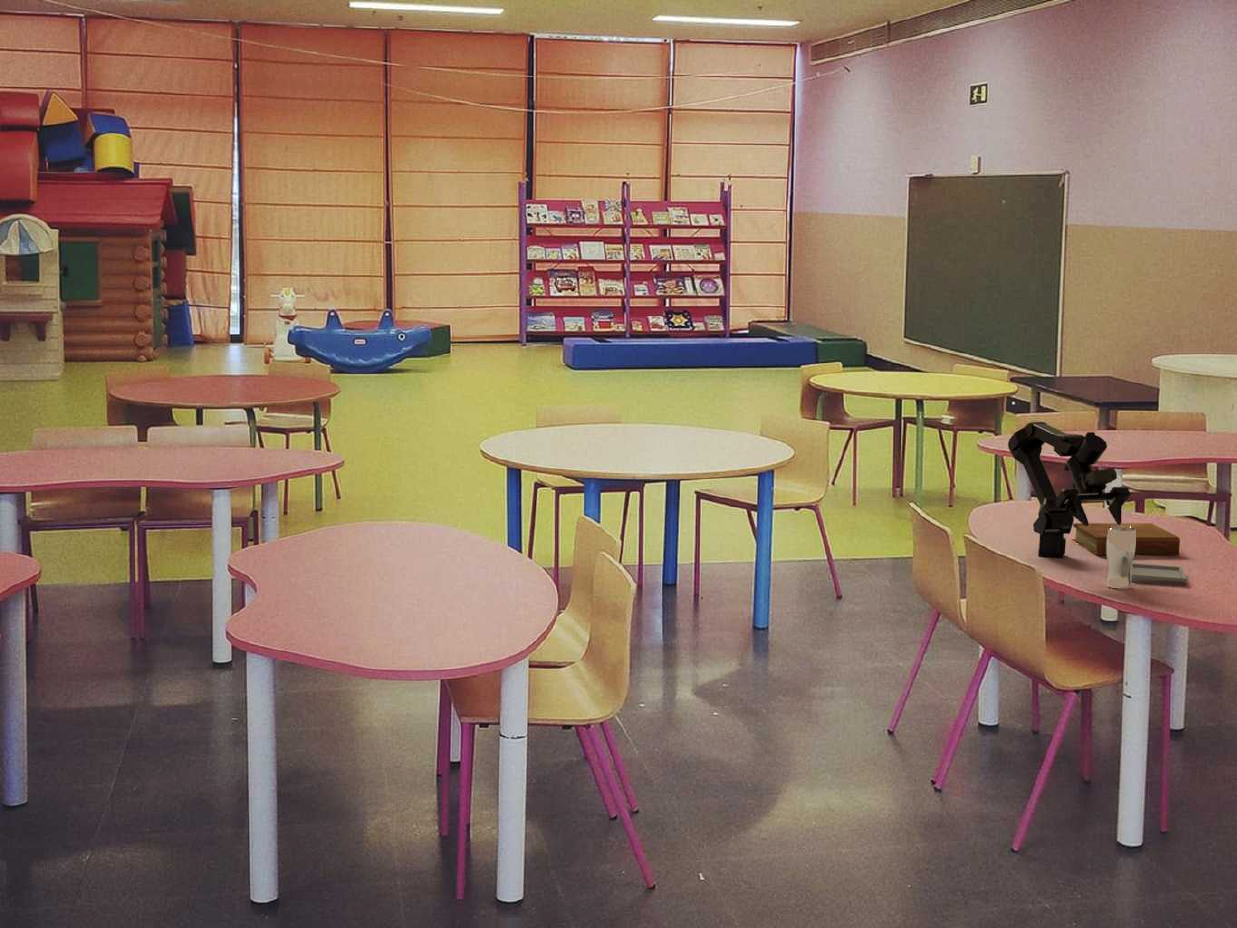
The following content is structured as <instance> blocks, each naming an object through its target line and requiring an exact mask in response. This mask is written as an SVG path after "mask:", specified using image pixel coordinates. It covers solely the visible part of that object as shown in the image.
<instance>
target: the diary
mask: <svg viewBox="0 0 1237 928" xmlns="http://www.w3.org/2000/svg"><path fill="white" fill-rule="evenodd" d="M1088 523H1089V522H1088ZM1109 526H1128V527H1133V528H1135V529H1136V548H1135V554H1134V555H1139V556H1138V557H1144V556H1145V557H1146V556H1147V557H1150V556H1151V557H1161V556H1162V557H1165V556H1166V557H1168V556H1169V557H1172V555H1178V556H1179V555H1180V545H1181V539H1180V537H1179V536H1178V535H1175V534H1173V533H1172V532H1170V531H1167V530H1166V529H1164V528H1162V527H1160V526H1158V525H1156V524H1154V523H1153V522H1148V523H1145V522H1143V523H1142V522H1139V523H1138V522H1135V523H1133V522H1127V523H1126V522H1125V523H1123V522H1121V524H1120V525H1118V524H1117V523H1116V522H1115V523H1112V522H1111V523H1107V522H1106V523H1101V522H1100V523H1099V522H1098V523H1097V522H1096V523H1092V522H1090V523H1089V524H1088V526H1085V525H1084V524H1082V523H1081V522H1077V523H1074V522H1073V525H1072V528H1075V538H1073V539H1071V541H1072V540H1073V541H1075V542H1076V543H1078V544H1079V545H1078V544H1077V545H1078V546H1080V547H1081V546H1082V547H1081V548H1083V547H1084V548H1086V549H1087V550H1086V549H1085V550H1086V551H1087V552H1089V551H1090V552H1089V553H1091V554H1092V555H1094V556H1095V557H1107V555H1106V541H1107V533H1108V527H1109ZM1073 541H1072V542H1073ZM1075 542H1074V543H1075ZM1076 543H1075V544H1076ZM1084 548H1083V549H1084Z"/></svg>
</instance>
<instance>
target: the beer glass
mask: <svg viewBox="0 0 1237 928" xmlns="http://www.w3.org/2000/svg"><path fill="white" fill-rule="evenodd" d="M1135 548H1136V529H1135V528H1133V527H1128V526H1109V527H1108V533H1107V541H1106V555H1107V556H1106V563H1107V576H1106V579H1105V584H1104V585H1106V586H1107V587H1106V586H1105V587H1106V588H1109V587H1111V588H1110V589H1112V588H1117V589H1116V590H1129V589H1128V588H1130V587H1131V588H1132V585H1131V584H1132V582H1131V579H1130V570H1131V566H1132V563H1134V558H1135V556H1134V554H1135ZM1131 588H1130V589H1131Z"/></svg>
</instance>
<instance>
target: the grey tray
mask: <svg viewBox="0 0 1237 928" xmlns="http://www.w3.org/2000/svg"><path fill="white" fill-rule="evenodd" d="M1130 578H1131V579H1130V583H1135V582H1137V583H1138V584H1150V585H1163V586H1175V585H1180V586H1179V587H1187V576H1186V574H1185V571H1184V569H1183V566H1181V565H1180V566H1178V565H1164V564H1150V563H1135V562H1132V566H1131V570H1130Z"/></svg>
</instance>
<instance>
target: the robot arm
mask: <svg viewBox="0 0 1237 928" xmlns="http://www.w3.org/2000/svg"><path fill="white" fill-rule="evenodd" d="M1045 444H1048V445H1049V446H1051V447H1053V451H1054V452H1055V453H1056V454H1057V455H1058V456H1059V457H1060V458H1061V457H1062V458H1064V457H1069V458H1068V460H1066V462H1065V465H1064V469H1063V470H1064V471H1065V472H1068V471H1069V473H1070V475H1071V478H1072V480H1073V483H1072V484H1071V485H1072V487H1070V488H1062V489H1061V491H1060V492H1059V494H1058V495H1057V493H1056V490H1055V489H1054V486H1053V484H1052V482H1051V480H1050V478H1049V477H1050V476H1049V475H1048V473H1047V470H1046V468H1045V466H1044V463H1043V461H1042V459H1041V453H1042V450H1043V446H1044V445H1045ZM1007 447H1008V448H1007V449H1008V451H1009V452H1010V454H1011V455H1012V457H1013V459H1015V460H1016V461H1017V462H1019V463H1020V464H1021V465H1023V468H1024V470H1025V472H1026V475H1027V477H1028V479H1029V482H1030V483H1031V486H1032V488H1033V491H1034V493H1035V497H1037V500H1038V503H1039V505H1040V506H1039V510H1038V514H1037V515H1038V517H1037V519H1036V520H1035V521H1034V522H1033V525H1032V526H1033V532H1034V533H1037V534H1039V539H1038V540H1039V542H1038V550H1037V555H1038V557H1049V558H1061V559H1062V558H1064V555H1065V554H1066V543H1067V541H1066V540H1067V539H1066V537H1065V535H1067V534H1068V535H1069V534H1071V532H1072V528H1073V523H1074V520H1075V519H1077V521H1079V523H1082V524H1084V525H1085V526H1088V524H1089V521H1088V518H1087V517H1088V516H1087V515H1086V513H1085V509H1084V508H1083V504H1082V502H1102V501H1103V502H1105V503H1106V505H1107V506H1108V507H1107V510H1108V511H1109V513H1110V514H1111V516H1112V517H1113V519H1114V521H1115V523H1117V524H1118V525H1120V524H1121V523H1122V508H1123V506H1124V504H1125V503H1126V501H1127V500H1128V499H1129V497H1130V496H1131V495H1132V494H1131V491H1130V489H1129V487H1127V486H1112V488H1111V489H1110V490H1109V492H1103V490H1106V488H1107V484H1110V483H1113V481H1115V480H1117V478H1118V476H1117V471H1116V469H1115V468H1114V467H1107V468H1105V469H1095V470H1094V467H1093V465H1094V464H1097V463H1098V462H1099V460H1100V458H1101V457H1102V456H1103V454H1104V452H1105V451H1106V450H1107V448H1108V444H1107V442H1106V441H1105V439H1103V438H1102V437H1100V436H1099V435H1096V433H1095V431H1088V432H1086V434H1085V435H1082V434H1078V433H1068V432H1067V433H1066V432H1063V431H1061V429H1058V428H1056V427H1053V426H1051V425H1048V424H1047V423H1046V422H1044V421H1030V422H1027V423H1026V425H1025V426H1024V427H1022V428H1020V429H1019V430H1017V431H1015V432H1014V433H1013V434H1012V435H1011V437H1010V438H1009V439H1008V442H1007Z"/></svg>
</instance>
